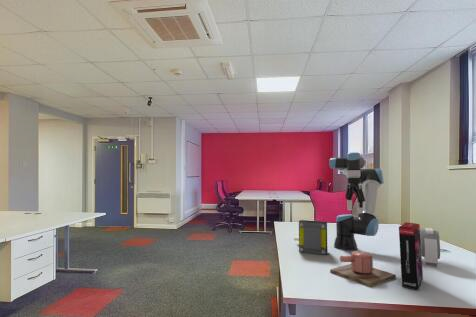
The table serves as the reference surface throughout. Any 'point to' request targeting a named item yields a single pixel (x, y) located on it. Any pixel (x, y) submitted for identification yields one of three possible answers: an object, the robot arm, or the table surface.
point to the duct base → (363, 275)
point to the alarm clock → (430, 246)
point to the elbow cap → (359, 261)
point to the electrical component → (313, 237)
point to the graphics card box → (410, 255)
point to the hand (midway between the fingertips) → (354, 211)
